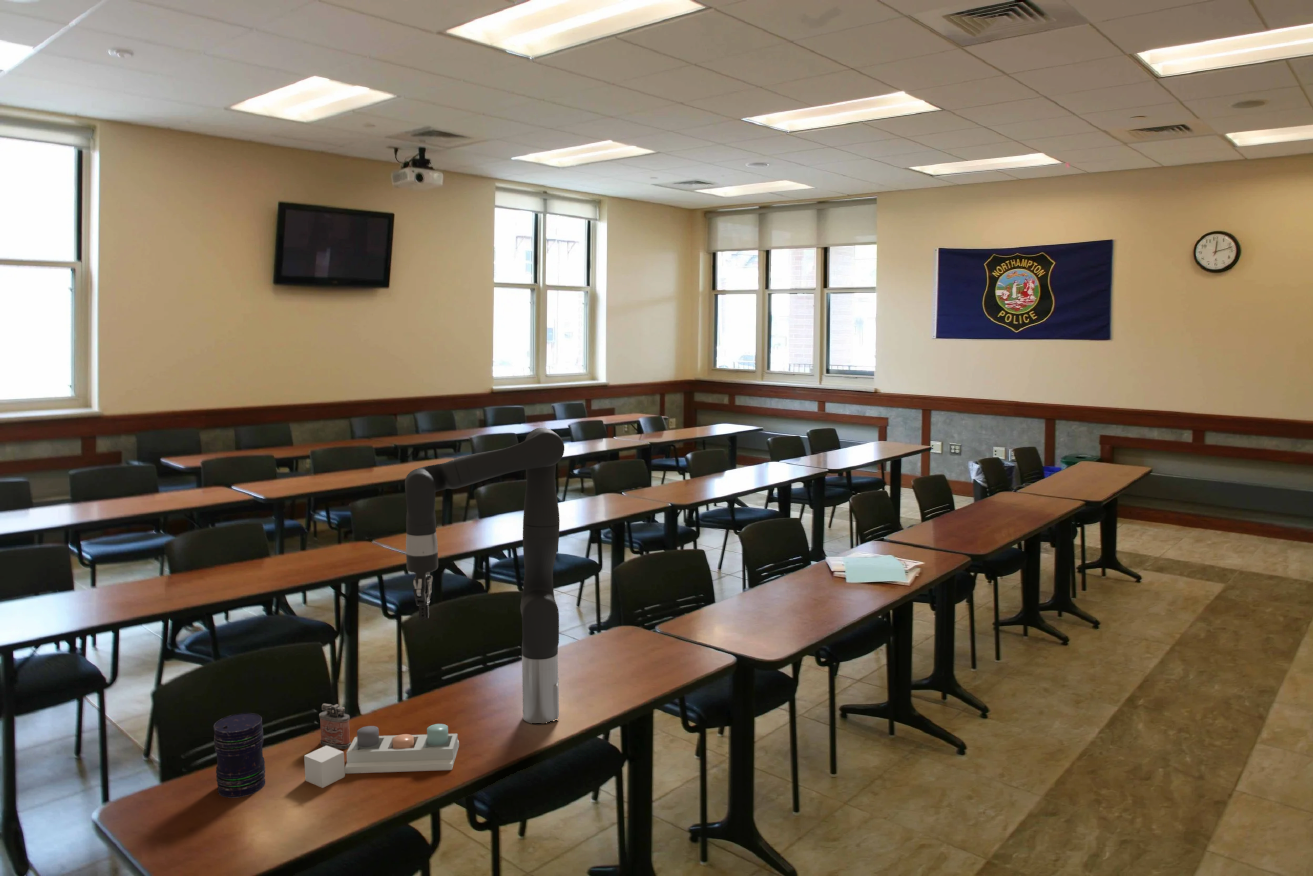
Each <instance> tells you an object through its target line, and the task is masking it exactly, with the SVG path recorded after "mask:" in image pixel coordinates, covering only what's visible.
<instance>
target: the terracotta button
mask: <svg viewBox="0 0 1313 876" xmlns="http://www.w3.org/2000/svg"><path fill="white" fill-rule="evenodd" d="M412 735H413V734H409V733H403V734H398V736H396V737H394V738H393V740H392V741H393V749H405V748H414V737H413V736H412Z"/></svg>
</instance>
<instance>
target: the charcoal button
mask: <svg viewBox="0 0 1313 876" xmlns="http://www.w3.org/2000/svg"><path fill="white" fill-rule="evenodd" d="M379 736H380V731H379V727H378V726H376V725H367V726H366V725H365V726H362V727H361V728H359V729H357V731H356V737H357V743H358V746H360V747H372V746H375V745H377V744H378V743H379Z"/></svg>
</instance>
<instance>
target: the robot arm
mask: <svg viewBox="0 0 1313 876" xmlns="http://www.w3.org/2000/svg"><path fill="white" fill-rule="evenodd" d="M564 453H565V443H564V441H563V439H562V438H561V436H559V434H557V433H556V432H554V431H553V430H552V429H550V428H546V427H535V428H534V429H533V430H532V431H530V432H528V434H527V436H526V438H525V440H524V441H522V442H520V443H517V444H515V445H512V446H509V447H505V448H500V449H495V450H489V451H483V452H476V453H473V454H469V455H465V456H461V457H457V458H454V459H452V460H449V461H446V462H442V463H437V464H436V463H435V464H431V465H425V466H422V467H418V468H415V469H413V470H411V471H410V472H409V473H408V474H407V475H406V476H405V480H404V488H405V489H404V490H405V500H406V501H405V502H406V511H407V512H406V516H405V517H406V518H405V519H406V520H405V521H406V523H405V524H406V526H405V528H406V537H405V538H406V539H405V555H406V557H405V558H406V559H405V560H406V570H407V572H410V573H413V574H415V578H413V583H412V584H413V587H414V588H413V591H412V593H413V596H414V601H415V604H416V606H418V620H420V621H428V620H429V617H430V606H429V605H430V602H431V600H430V599H431V598H432V586H433V579H434V577H433V575H431V573H433V572H435V571H436V570H438V568H439V553H438V552H439V548H438V547H439V546H438V544H439V543H438V536H437V521H436V520H437V518H436V517H437V516H436V512H435V507H436V492H439V491H444V490H446V489H451V490H455V489H460V488H463V487H466V486H469V485H473V484H476V483H479V482H483V481H486V480H488V479H492V478H495V477H500V476H503V475H505V474H506V475H507V474H510V473H514V472H519V471H525V472H526V481H525V482H526V486H525V494H524V495H525V496H524V504H523V515H522V516H523V517H522V549H523V551H522V555H523V563H524V564H523V565H524V576H523V577H524V578H523V585H522V593H521V600H520V614H521V618H522V619H521V623H522V625H521V626H522V633H521V634H522V641H521V642H522V643H521V669H522V670H521V673H522V674H521V675H522V679H521V680H522V682H521V683H522V719H523V720H524V721H525V722H526V723H529V724H532V723H546V722H550V721H553V720H555V719H558V717H559V716H560V692H559V691H560V689H559V685H560V684H559V683H560V682H559V645H560V611H559V607H558V604H557V602H556V599H555V593H554V575H553V574H554V566H555V561H556V557H557V554H558V553H557V552H558V548H559V542H560V541H559V540H560V511H559V509H560V508H559V501H558V496H557V495H558V494H557V490H556V469H557V468H556V467H557V464H558V463H559V462H560V461H561V459H563V456H564ZM558 720H559V719H558ZM553 722H554V721H553ZM550 723H551V722H550ZM546 724H547V723H546Z"/></svg>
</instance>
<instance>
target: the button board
mask: <svg viewBox="0 0 1313 876" xmlns="http://www.w3.org/2000/svg"><path fill="white" fill-rule="evenodd" d="M398 735H399V734H398ZM398 735H379V743H378V744H377V745H375V746H372V747H360V746H358V743H357V736H354V738H353V740H352V742H351V745H350V747H349V748H347V750H346V764H345V765H344V767H345V775H346V774H369V773H397V772H399V773H400V772H401V773H402V772H429V771H452V770H453V767H454V764H455V760H456V757H457V755H458V750H459V747H460V741H459V739H458V733H448V741H447V742H446V743H444V744H441V745H431V744H429V743H428V742H427V734H411V735H412V736H413V737H414V748H405V749H393V741H392V740H393V738H394V737H396V736H398Z"/></svg>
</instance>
